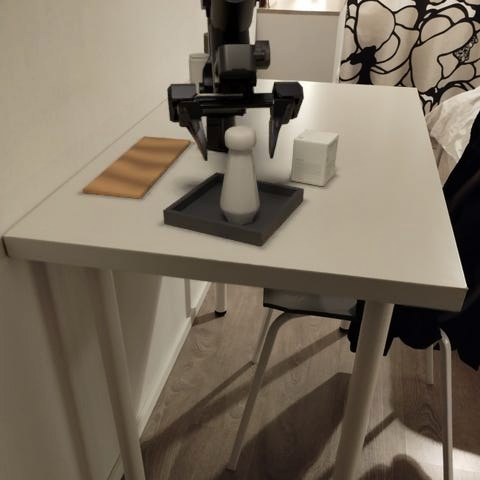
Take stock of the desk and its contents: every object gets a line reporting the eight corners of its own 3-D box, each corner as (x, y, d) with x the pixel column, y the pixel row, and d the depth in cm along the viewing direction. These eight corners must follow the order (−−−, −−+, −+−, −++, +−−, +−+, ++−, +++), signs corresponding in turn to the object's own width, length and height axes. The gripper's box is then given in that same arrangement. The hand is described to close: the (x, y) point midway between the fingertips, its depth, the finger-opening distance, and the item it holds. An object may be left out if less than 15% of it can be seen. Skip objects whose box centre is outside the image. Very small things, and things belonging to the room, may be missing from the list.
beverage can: (209, 114, 121) (207, 57, 113) (189, 113, 121) (186, 56, 114) (213, 108, 124) (212, 53, 117) (193, 107, 125) (191, 52, 118)
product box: (323, 187, 87) (328, 143, 83) (289, 181, 89) (292, 138, 85) (334, 175, 91) (339, 133, 87) (302, 169, 94) (305, 128, 89)
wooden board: (144, 139, 107) (143, 136, 106) (190, 142, 105) (190, 139, 105) (82, 192, 85) (82, 189, 84) (140, 198, 83) (140, 195, 83)
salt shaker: (225, 229, 73) (224, 136, 65) (215, 212, 78) (213, 123, 70) (264, 224, 75) (268, 133, 67) (253, 208, 79) (255, 120, 71)
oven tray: (216, 184, 88) (216, 172, 87) (303, 201, 83) (304, 188, 81) (164, 223, 76) (162, 210, 75) (261, 246, 71) (261, 232, 69)
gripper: (161, 15, 65) (168, 131, 63) (306, 14, 67) (318, 127, 65) (167, 70, 76) (172, 170, 74) (291, 68, 78) (300, 166, 76)
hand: (239, 158), depth 72 cm, fingers open, 9 cm apart
